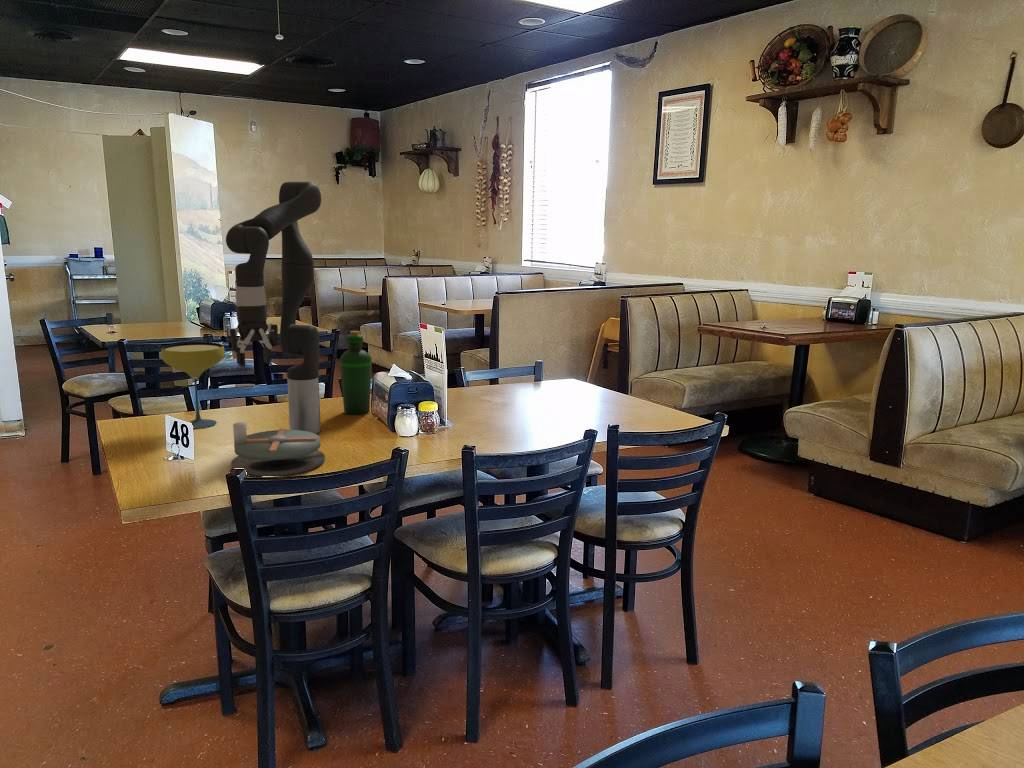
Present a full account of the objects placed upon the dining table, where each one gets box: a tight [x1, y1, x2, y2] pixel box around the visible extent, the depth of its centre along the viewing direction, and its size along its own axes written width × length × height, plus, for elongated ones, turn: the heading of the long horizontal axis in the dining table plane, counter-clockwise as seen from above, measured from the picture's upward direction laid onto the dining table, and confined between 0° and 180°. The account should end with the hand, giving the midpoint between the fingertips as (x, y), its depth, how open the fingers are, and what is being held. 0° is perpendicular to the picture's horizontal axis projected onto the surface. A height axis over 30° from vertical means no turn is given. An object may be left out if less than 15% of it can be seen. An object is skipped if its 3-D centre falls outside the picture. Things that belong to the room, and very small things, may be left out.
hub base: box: [230, 449, 326, 478], centre depth 197 cm, size 24×24×4 cm
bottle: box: [339, 330, 372, 416], centre depth 249 cm, size 11×11×28 cm
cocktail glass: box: [160, 341, 225, 430], centre depth 230 cm, size 18×18×25 cm
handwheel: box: [232, 421, 321, 460], centre depth 196 cm, size 22×22×7 cm
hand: (254, 364), depth 198 cm, fingers open, 7 cm apart
